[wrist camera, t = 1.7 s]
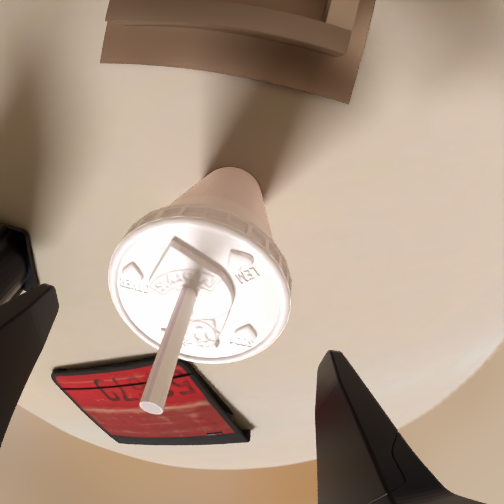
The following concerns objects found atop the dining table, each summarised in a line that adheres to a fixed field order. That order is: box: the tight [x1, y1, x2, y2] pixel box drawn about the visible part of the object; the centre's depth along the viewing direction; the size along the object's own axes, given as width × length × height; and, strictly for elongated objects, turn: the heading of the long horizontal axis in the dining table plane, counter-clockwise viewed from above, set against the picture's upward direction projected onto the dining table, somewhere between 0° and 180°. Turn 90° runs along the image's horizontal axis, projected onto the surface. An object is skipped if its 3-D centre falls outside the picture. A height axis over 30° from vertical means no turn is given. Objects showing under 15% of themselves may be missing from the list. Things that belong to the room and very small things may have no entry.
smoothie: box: [108, 167, 292, 414], centre depth 12 cm, size 6×6×14 cm
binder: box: [51, 356, 250, 445], centre depth 32 cm, size 16×2×21 cm
